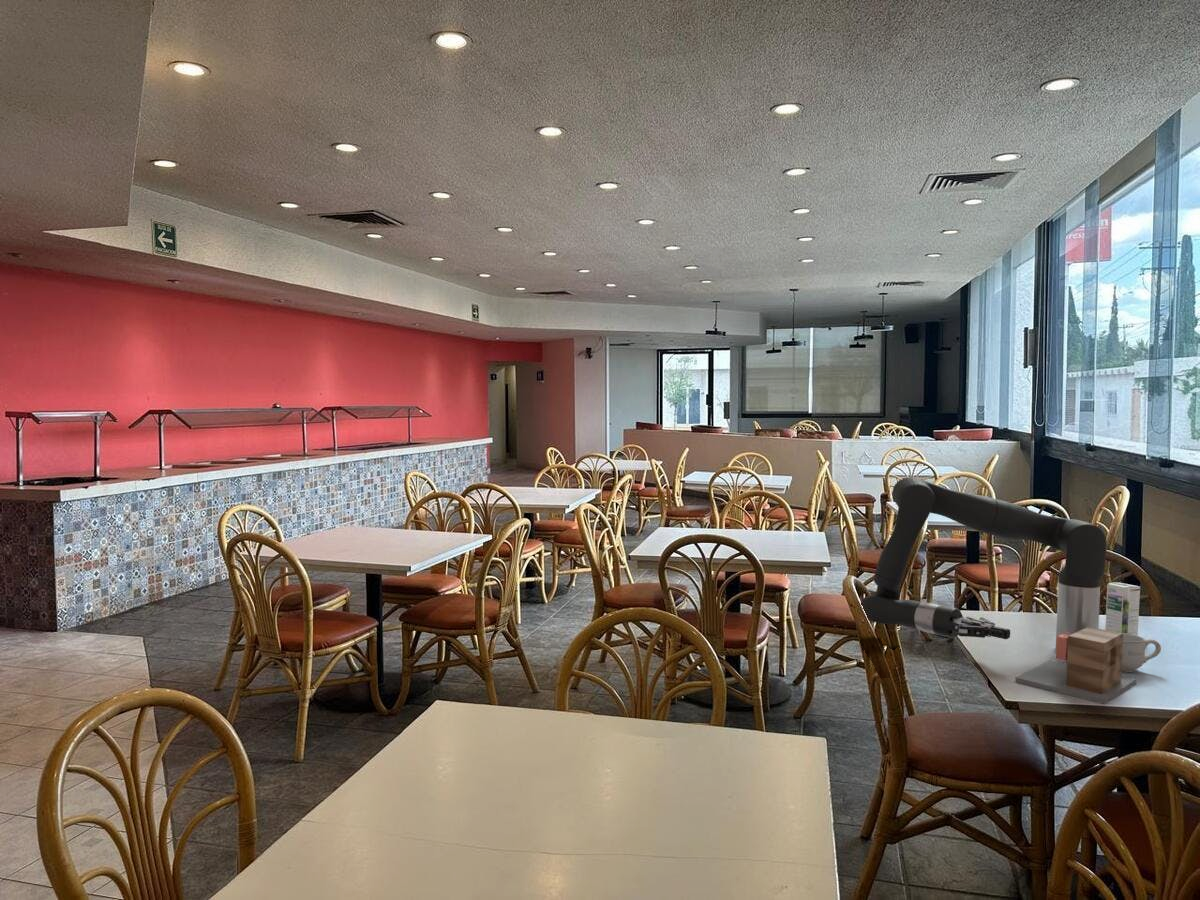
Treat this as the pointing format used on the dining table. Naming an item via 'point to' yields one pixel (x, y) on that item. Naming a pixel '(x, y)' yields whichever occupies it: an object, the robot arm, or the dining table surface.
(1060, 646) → the red headed square peg
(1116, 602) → the syrup box
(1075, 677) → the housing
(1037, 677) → the base mat
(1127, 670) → the teacup
